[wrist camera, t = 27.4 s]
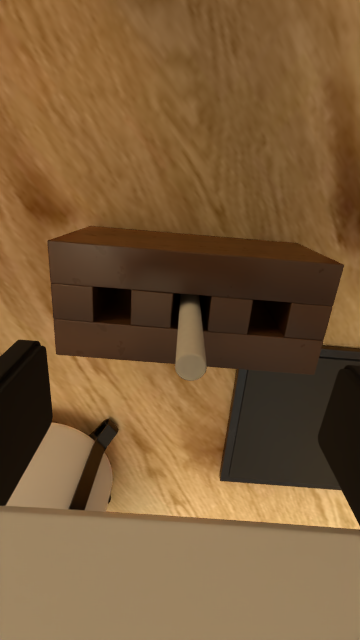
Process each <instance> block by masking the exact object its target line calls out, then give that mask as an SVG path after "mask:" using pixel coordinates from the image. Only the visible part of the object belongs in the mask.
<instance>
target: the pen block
mask: <svg viewBox="0 0 360 640" xmlns="http://www.w3.org/2000/svg"><path fill="white" fill-rule="evenodd" d="M48 253H49V267H50V280H51V292H52V305H53V318H54V332H55V345H56V354H57V355H69V356H81V357H94V358H107V359H119V360H132V361H144V362H157V363H169V364H175V362H176V348H177V335H178V321H179V308H180V294H192V295H199V299H200V309H201V318H202V327H203V337H204V346H205V355H206V365H207V367H220V368H232V369H245V370H257V371H270V372H283V373H295V374H308V375H314V374H315V370H316V367H317V363H318V359H319V356H320V352H321V348H322V345H323V340H324V336H325V333H326V329H327V325H328V322H329V318H330V314H331V311H332V306H333V304H334V300H335V297H336V293H337V289H338V286H339V282H340V278H341V275H342V271H343V267H344V265H343V264H341V263H339V262H337V261H335V260H332V259H330V258H328V257H326V256H324V255H322V254H320V253H317V252H315V251H313V250H311V249H309V248H307V247H304V246H302V245H300V244H298V243H289V242H277V241H265V240H253V239H241V238H229V237H217V236H204V235H192V234H180V233H168V232H156V231H144V230H132V229H119V228H107V227H95V226H89V227H86V228H83V229H80V230H77V231H74V232H71V233H68V234H65V235H63V236H60V237H57V238H54V239H51V240H48Z"/></svg>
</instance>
